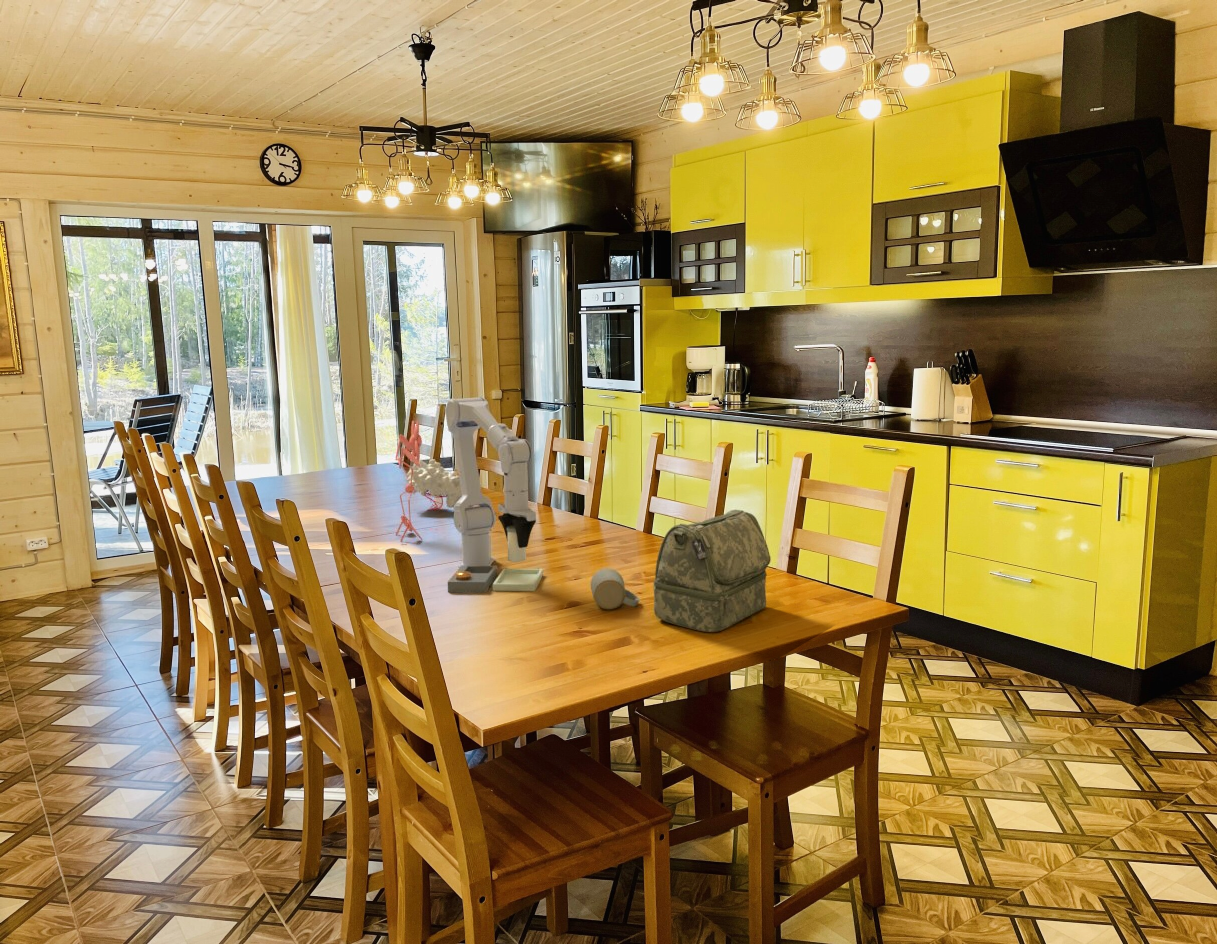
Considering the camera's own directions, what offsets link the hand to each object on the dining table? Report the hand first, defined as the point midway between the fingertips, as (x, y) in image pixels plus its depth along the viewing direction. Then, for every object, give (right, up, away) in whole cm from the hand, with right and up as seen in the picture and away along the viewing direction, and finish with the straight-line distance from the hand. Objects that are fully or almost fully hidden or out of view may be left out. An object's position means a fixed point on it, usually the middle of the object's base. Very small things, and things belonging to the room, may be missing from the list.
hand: (517, 545), depth 219 cm
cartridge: (0, -4, +1) cm, 4 cm away
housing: (-11, -9, +1) cm, 15 cm away
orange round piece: (-13, -10, -3) cm, 16 cm away
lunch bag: (+44, -13, -25) cm, 53 cm away
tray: (0, -9, +1) cm, 9 cm away
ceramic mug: (+23, -12, -17) cm, 32 cm away
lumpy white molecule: (-35, +4, +92) cm, 99 cm away
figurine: (-35, -2, +53) cm, 63 cm away
